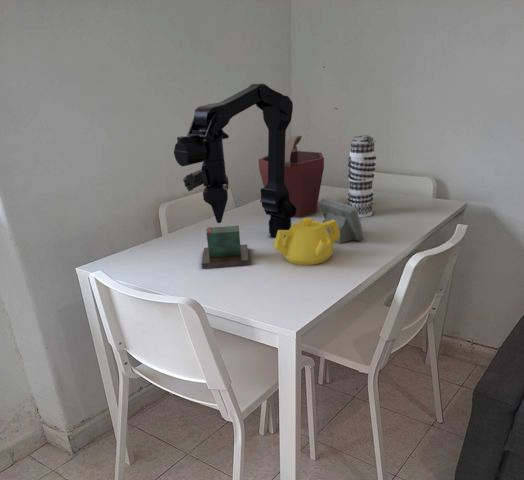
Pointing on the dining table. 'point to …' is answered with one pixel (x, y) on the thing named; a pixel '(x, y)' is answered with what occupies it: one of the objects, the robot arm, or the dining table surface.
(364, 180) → the black white tall cylinder
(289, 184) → the bucket
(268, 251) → the dining table surface
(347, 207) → the digital clock
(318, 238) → the teapot
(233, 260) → the brown square board
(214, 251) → the green box
